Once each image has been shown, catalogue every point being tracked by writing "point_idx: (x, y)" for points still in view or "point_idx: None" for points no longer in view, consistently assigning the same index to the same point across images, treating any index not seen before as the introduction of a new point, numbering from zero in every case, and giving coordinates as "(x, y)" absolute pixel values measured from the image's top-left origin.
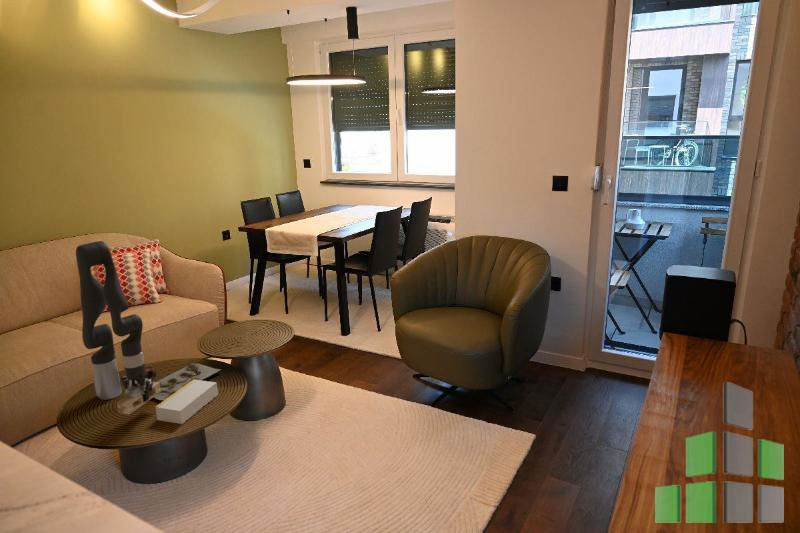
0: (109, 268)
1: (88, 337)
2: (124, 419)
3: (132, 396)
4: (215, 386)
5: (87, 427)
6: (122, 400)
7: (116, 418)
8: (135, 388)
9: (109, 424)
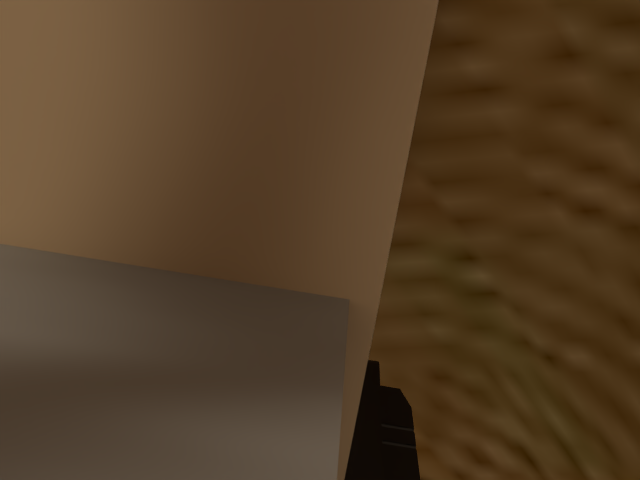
0: None
1: None
2: (459, 153)
3: (38, 286)
4: None
5: None
6: (335, 58)
7: (576, 164)
8: None
9: (603, 18)
